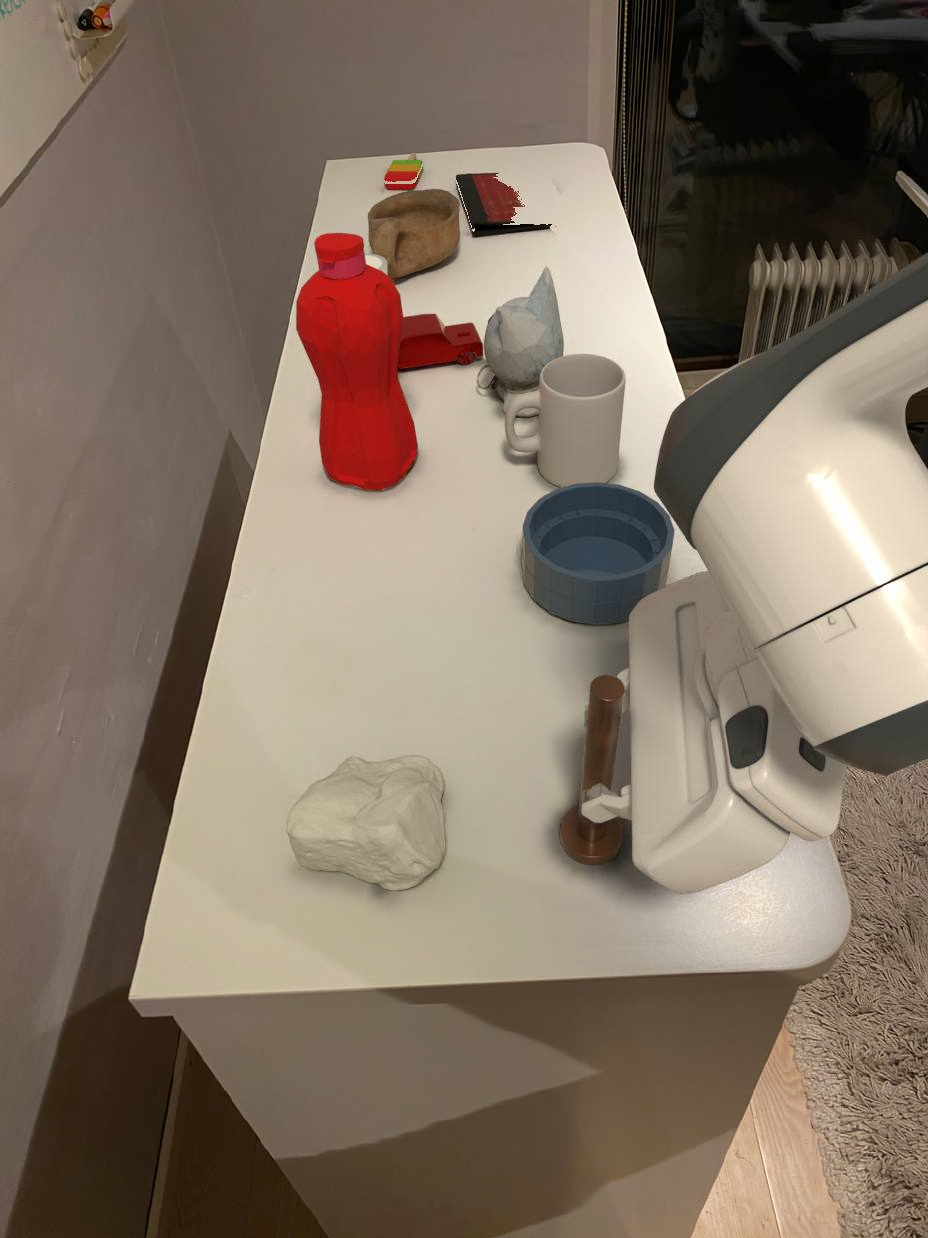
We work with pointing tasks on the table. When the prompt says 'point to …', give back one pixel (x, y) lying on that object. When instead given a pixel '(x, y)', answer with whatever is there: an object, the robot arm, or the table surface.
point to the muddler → (597, 776)
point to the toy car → (436, 341)
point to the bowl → (414, 229)
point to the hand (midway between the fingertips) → (589, 763)
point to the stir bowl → (595, 551)
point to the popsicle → (403, 173)
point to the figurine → (523, 342)
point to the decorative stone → (372, 821)
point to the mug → (574, 419)
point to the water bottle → (356, 365)
